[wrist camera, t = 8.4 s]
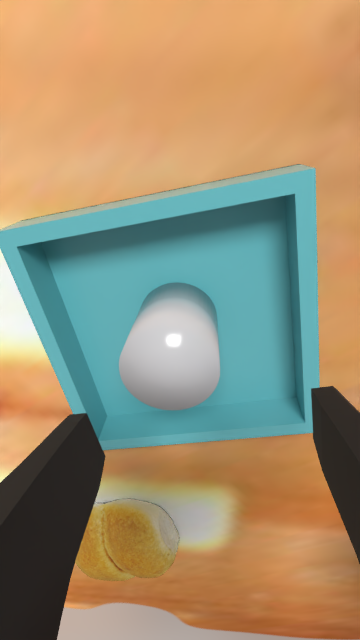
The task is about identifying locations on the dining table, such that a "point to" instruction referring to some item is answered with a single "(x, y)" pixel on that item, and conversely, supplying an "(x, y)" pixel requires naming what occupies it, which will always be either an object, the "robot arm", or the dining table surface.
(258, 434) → the tray
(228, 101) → the dining table surface
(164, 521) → the bread roll
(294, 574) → the dining table surface
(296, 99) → the dining table surface
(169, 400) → the white cylinder
